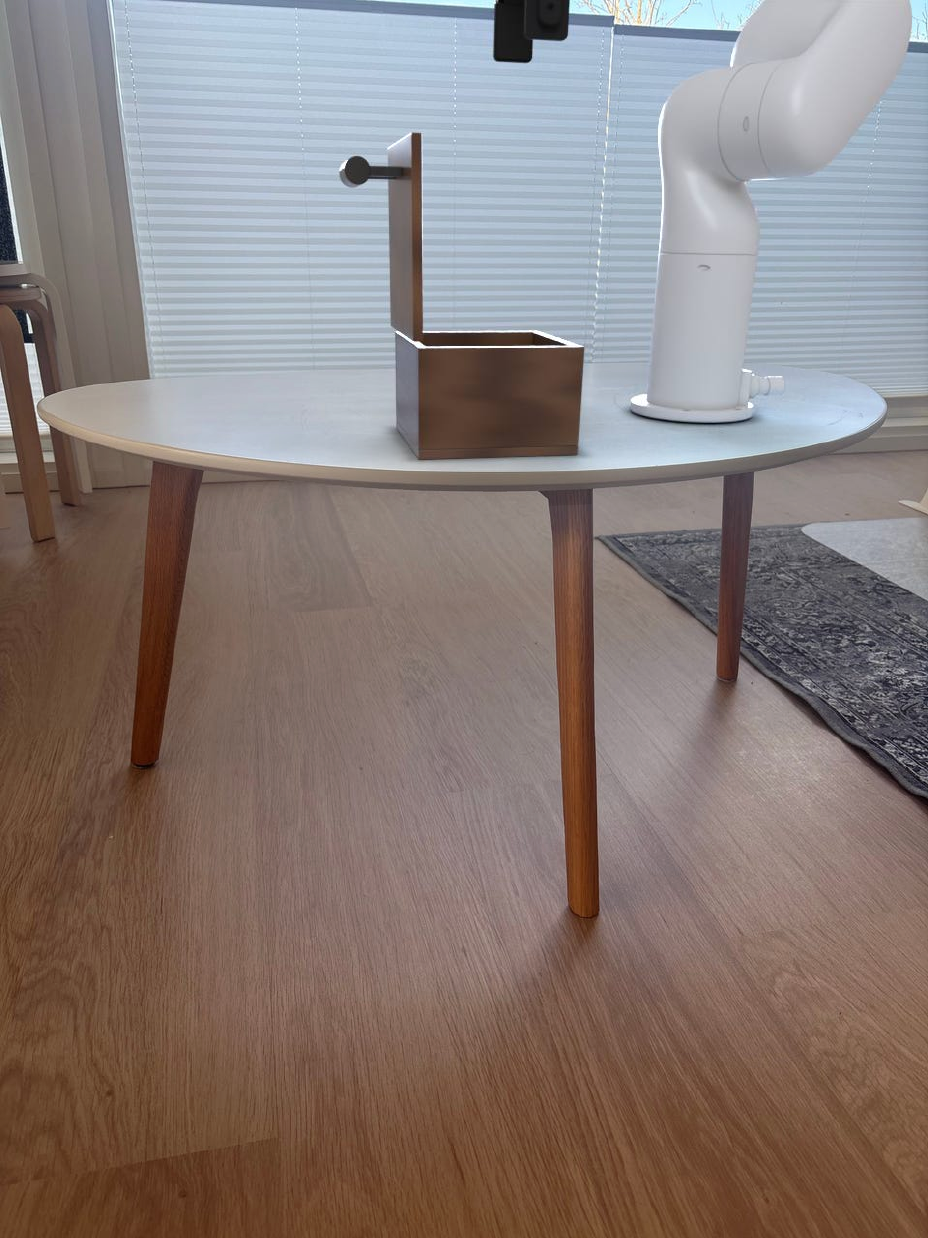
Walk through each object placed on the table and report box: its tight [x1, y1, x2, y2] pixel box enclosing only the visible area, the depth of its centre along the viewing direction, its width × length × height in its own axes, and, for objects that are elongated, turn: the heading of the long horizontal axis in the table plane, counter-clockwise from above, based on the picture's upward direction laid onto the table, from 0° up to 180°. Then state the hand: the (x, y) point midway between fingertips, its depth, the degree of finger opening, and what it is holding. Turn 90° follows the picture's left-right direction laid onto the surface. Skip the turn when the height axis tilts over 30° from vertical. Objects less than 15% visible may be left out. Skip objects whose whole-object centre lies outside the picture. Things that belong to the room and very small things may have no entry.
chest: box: [394, 330, 585, 461], centre depth 82 cm, size 14×14×9 cm
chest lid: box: [338, 131, 424, 342], centre depth 75 cm, size 14×14×5 cm
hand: (528, 51), depth 72 cm, fingers open, 9 cm apart
